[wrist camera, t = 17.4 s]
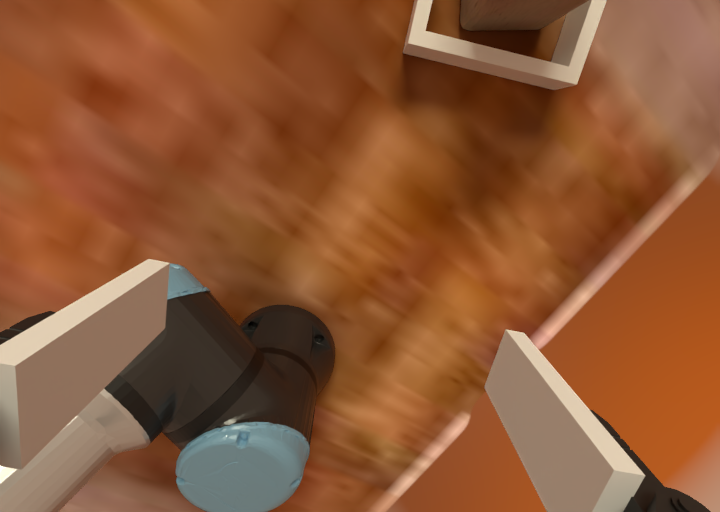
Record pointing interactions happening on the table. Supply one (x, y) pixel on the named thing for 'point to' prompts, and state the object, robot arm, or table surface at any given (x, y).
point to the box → (509, 64)
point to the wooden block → (513, 13)
